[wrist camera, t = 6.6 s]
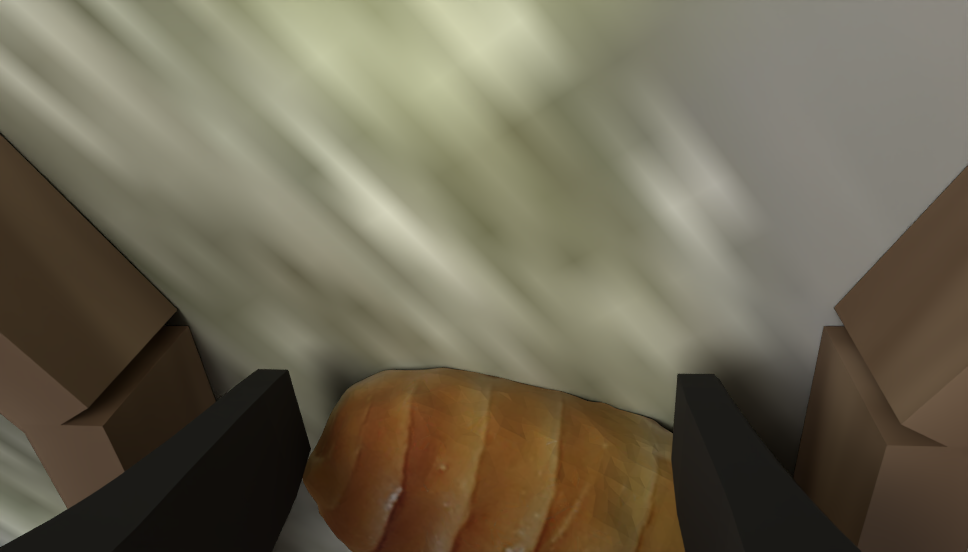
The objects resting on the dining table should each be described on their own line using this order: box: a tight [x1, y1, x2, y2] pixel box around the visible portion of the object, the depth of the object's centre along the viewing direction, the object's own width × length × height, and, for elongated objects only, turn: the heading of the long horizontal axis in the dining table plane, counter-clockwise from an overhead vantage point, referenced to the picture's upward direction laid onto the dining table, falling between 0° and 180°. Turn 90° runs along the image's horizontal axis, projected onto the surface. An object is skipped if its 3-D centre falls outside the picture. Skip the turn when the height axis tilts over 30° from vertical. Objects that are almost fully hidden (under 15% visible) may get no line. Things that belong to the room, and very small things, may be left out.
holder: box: [0, 135, 968, 552], centre depth 14 cm, size 20×18×3 cm
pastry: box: [303, 367, 685, 552], centre depth 14 cm, size 9×7×4 cm
